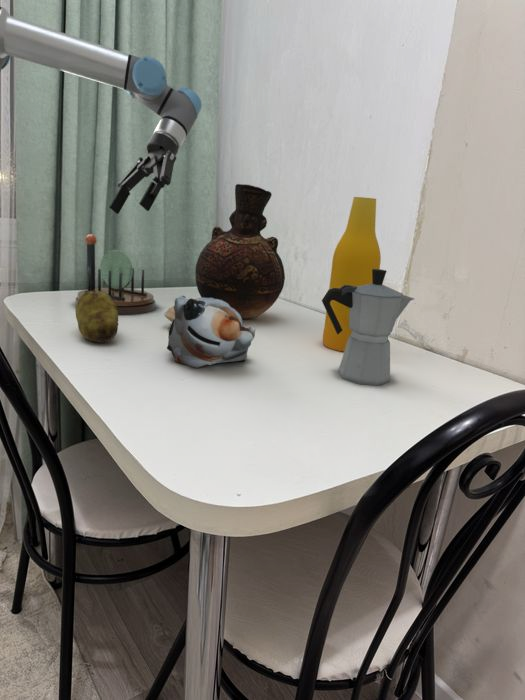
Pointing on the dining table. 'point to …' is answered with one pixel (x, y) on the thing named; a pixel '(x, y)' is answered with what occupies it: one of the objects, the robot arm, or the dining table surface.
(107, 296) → the potato
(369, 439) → the dining table surface
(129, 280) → the dish rack
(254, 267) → the ceramic vessel
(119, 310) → the base
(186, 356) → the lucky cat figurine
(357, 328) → the coffee maker
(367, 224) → the beer bottle
